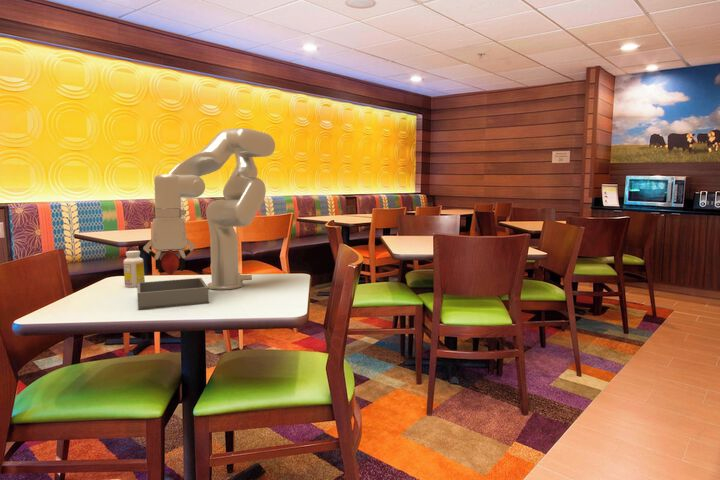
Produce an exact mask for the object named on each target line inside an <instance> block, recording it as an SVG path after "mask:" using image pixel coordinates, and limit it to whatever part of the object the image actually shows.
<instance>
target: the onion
mask: <svg viewBox="0 0 720 480" xmlns="http://www.w3.org/2000/svg"><path fill="white" fill-rule="evenodd" d="M160 261H161V270H162V271H164V272H165V273H166V274H168V275H169V276H171V275H173V274H174V273H175V272H176V271H177V270H178V269H180V257H179V256H178V255H177V254H176V253H174V252H173V250H167V252H166V253H165V254H163V256H162V257H161V258H160Z"/></svg>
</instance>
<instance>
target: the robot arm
mask: <svg viewBox="0 0 720 480" xmlns="http://www.w3.org/2000/svg"><path fill="white" fill-rule="evenodd" d="M275 149H276V142H275V139H274V138H273V137H272V136H271V135H270V134H269V133H267V132H262V131H258V130H255V129H250V128H245V127H237V128H225V129H222V130H220V131H219V132H218V133H217V134H216V135H215V136H214V137H213V138H212V139H211V140H210V141H209V143H208V144H206V146H204V148H203V149H202V150H200V151H199V152H196V153H195V154H192V155H191V156H190V157H189V158H186V159H185V160H183V161H181V162H180V163H178V164H176V166H174V167H173V168H172V169H171V170H170V171H169V173H167V174H165V173H163V174H157V175H155V176H154V185H153V186H154V205H155V210H154V211H155V218H153V219H152V223H151V239H150V240H149V241H148V242H147V243H146V244H145V245H144V246H143V248H142V249H143V251H145V252H146V254H147V253H148V255H149V256H151V257H152V258H153V259H154V262H155V263H154V264H155V270H157V271H158V273H161V272H162V268H161V258H160V256H161V253H162V251H169V250H172V251H178V252H179V254H180V257H179V259H180V266H179V270H180V271H181V272H184V269H186V258H187V256H188V255H189V254H190V253H191V252H192V251H193V250H194V249H195V248H196V245H195V244H194V243H193V242H192V241H191V240H190V239H189V238H187V229H186V222H185V219H184V218H183V217H182V216H184V215H187V210H186V209H183V208H182V199H195V198H199V197H200V196H202V195H203V194H204V193H205V189H206V183H205V181H204V180H203V178H201V177H202V176H206V175H210V174H212V173H215V172H217V171H219V170H220V169H222V167H223V166H224V165H225V164H226V163H227V162H228V160H230V158H231V157H232V156H233V155H234V157H235V160H236V161H235V168H234V170H233V172H232V173H231V175H230V177H229V178H228V180H227V182H226V183H225V184H224V186H223V190H222V195H223V197H224V199H215V200H212V201H211V202H210V203H208V205H207V207H206V210H205V214H206V215H205V216H206V221H207V225H208V230H209V242H210V245H209V247H210V267H211V268H210V269H211V271H210V272H211V282H209V283H207V284H206V285H207V286H208V290H209V289H210V290H218V291H219V290H220V291H223V290H233V289H239V288H242V287H243V286H244V281H252V280H253V275H252V274H241V273H240V272H239V250H238V249H239V248H238V247H239V245H238V244H239V243H238V240H239V239H238V234H237V232H236V230H235V229H234V228H235V227H236V228H240V227H241V228H243V227H247V226H249V225H250V224H252V222H253V221H254V219H255V217H256V215H257V214H258V212H259V210H260V208H261V206H262V204H263V202H264V200H265V196H266V192H267V191H266V185H265V182H264V180H262V179H261V178H259V177H258V173H259V172H258V168H257V165H256V164H255V161H254V158H265V157H266V158H267V157H270V156H272V154H274V152H275ZM187 245H188V248H187ZM150 248H152V249H153V250H155V252H154V251H153V250H152V249H150ZM186 248H187V249H186ZM184 250H185V251H184Z"/></svg>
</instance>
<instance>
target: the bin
mask: <svg viewBox="0 0 720 480" xmlns="http://www.w3.org/2000/svg"><path fill="white" fill-rule="evenodd" d="M136 288H137V290H136V292H137V308H138V309H137V310H138V311H143V310H153V309H155V310H156V309H164V308H173V307H182V306H184V307H185V306H193V305H194V306H195V305H204V304H205V305H206V304H210V302H209V288H208V286H207V284H206V283H205V281H204V280H203V278H202V277H196V278H195V277H194V278H184V279H183V278H181V279H169V280H167V279H166V280H158V281H157V280H155V281H154V280H153V281H145V282H141V283H137V287H136Z"/></svg>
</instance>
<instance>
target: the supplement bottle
mask: <svg viewBox="0 0 720 480" xmlns="http://www.w3.org/2000/svg"><path fill="white" fill-rule="evenodd" d="M140 255H141V251H140V250H128V251H127V250H126V251H125V256H126V258H125V259H123V274H124V276H123V278H124V285H125V288H137V283H141V282H146V281H145V266H144V258H142V257H140Z"/></svg>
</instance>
